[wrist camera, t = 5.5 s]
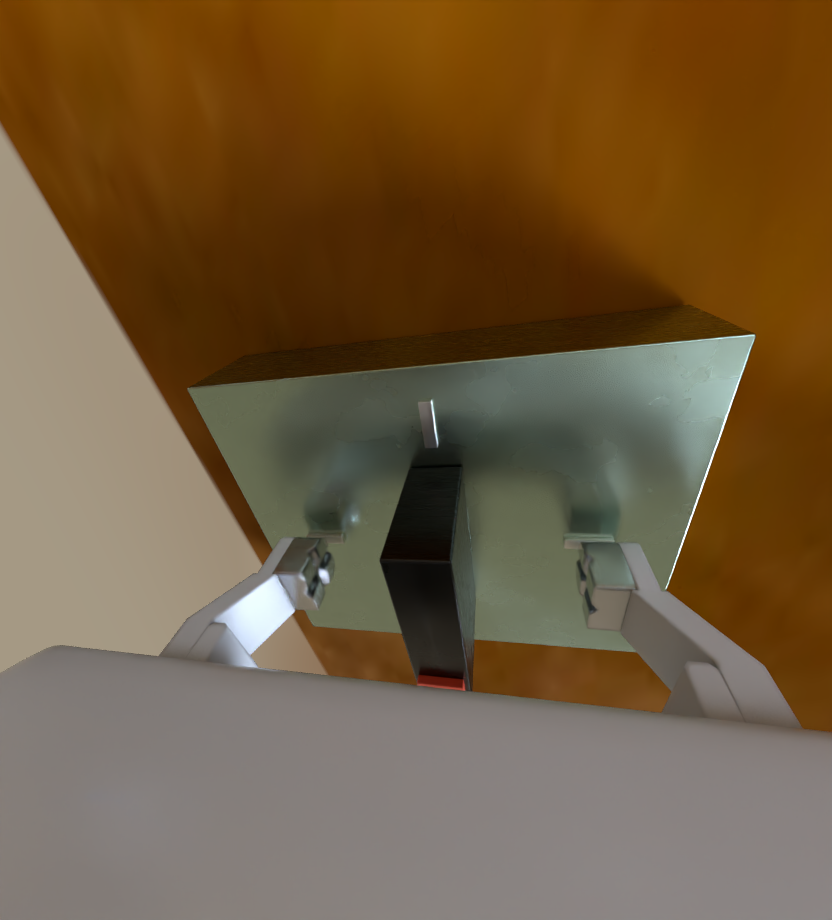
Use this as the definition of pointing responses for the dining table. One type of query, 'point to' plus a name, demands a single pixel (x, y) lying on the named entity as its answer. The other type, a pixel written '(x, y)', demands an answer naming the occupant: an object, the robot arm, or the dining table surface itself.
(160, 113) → the dining table surface
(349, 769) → the robot arm
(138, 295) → the dining table surface
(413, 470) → the black switch lever
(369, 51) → the dining table surface
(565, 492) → the panel
